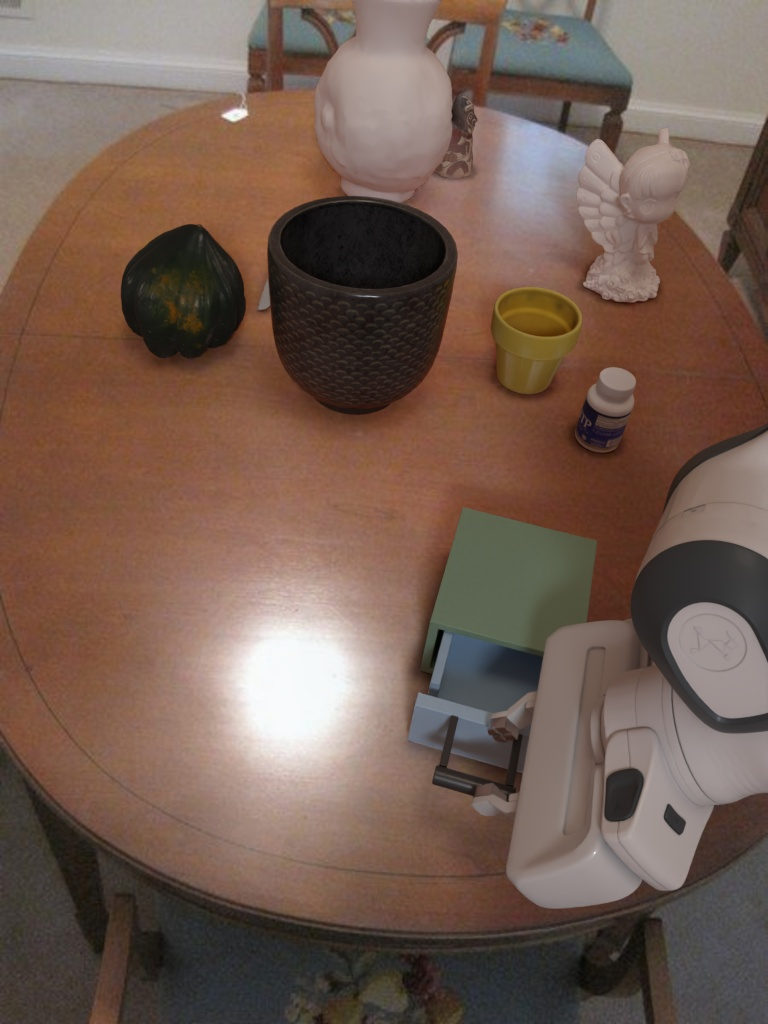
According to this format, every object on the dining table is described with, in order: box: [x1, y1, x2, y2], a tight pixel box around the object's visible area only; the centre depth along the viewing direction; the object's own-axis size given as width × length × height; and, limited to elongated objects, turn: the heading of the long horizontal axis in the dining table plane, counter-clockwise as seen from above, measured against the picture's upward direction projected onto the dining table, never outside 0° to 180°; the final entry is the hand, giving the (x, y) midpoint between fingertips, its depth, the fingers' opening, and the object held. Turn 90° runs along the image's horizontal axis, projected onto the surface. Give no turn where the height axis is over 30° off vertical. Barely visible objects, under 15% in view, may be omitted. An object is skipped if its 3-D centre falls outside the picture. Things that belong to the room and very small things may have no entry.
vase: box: [313, 0, 453, 203], centre depth 124 cm, size 19×21×30 cm
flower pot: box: [490, 286, 584, 395], centre depth 103 cm, size 10×10×10 cm
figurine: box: [433, 92, 479, 179], centre depth 138 cm, size 7×7×12 cm
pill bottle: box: [574, 366, 637, 454], centre depth 96 cm, size 5×5×9 cm
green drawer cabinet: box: [419, 506, 598, 675], centre depth 77 cm, size 14×13×8 cm
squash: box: [120, 223, 247, 360], centre depth 102 cm, size 14×15×15 cm
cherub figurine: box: [575, 127, 691, 303], centre depth 116 cm, size 13×12×20 cm
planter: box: [266, 195, 459, 416], centre depth 95 cm, size 20×20×19 cm
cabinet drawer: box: [407, 631, 543, 802], centre depth 70 cm, size 18×11×6 cm, turn 165°
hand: (485, 764), depth 63 cm, fingers closed on cabinet drawer, 4 cm apart
